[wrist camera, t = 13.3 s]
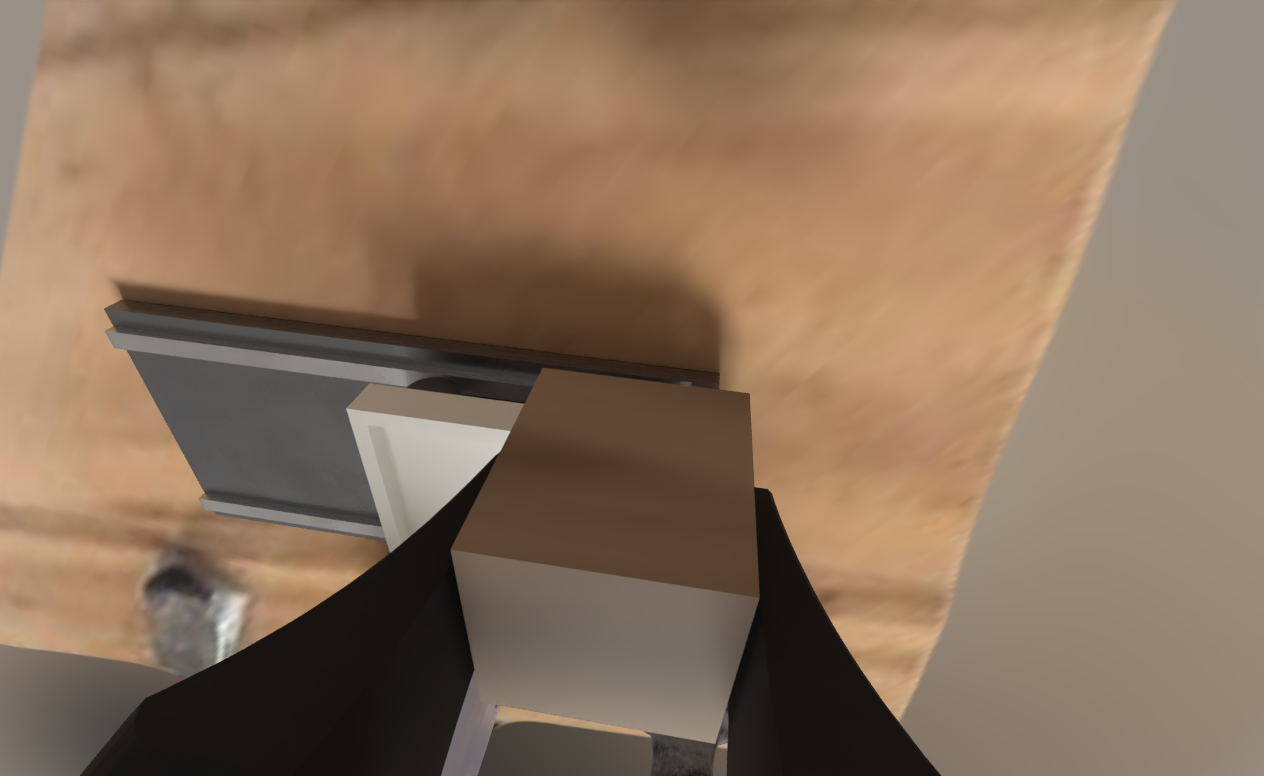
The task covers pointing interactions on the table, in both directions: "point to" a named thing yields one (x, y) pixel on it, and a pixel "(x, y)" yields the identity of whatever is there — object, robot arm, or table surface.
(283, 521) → the dark grey tray
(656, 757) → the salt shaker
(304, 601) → the table surface
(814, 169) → the table surface
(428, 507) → the white recessed tray
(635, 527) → the plain brown block
